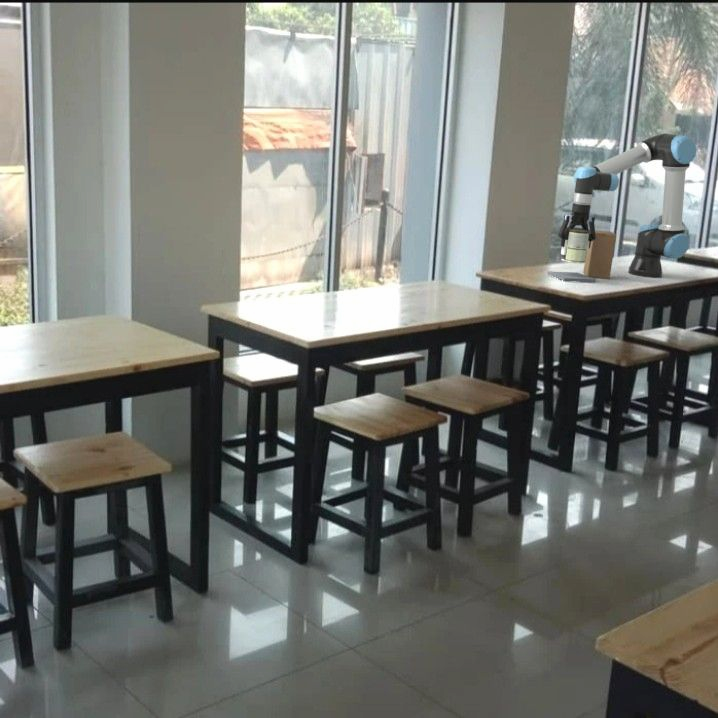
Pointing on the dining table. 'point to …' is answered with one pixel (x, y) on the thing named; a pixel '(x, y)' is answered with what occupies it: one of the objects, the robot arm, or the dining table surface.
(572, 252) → the coffee can
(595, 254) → the wooden block
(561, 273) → the grey mat
